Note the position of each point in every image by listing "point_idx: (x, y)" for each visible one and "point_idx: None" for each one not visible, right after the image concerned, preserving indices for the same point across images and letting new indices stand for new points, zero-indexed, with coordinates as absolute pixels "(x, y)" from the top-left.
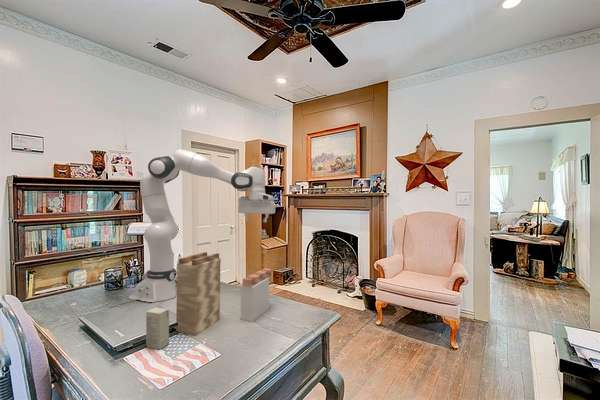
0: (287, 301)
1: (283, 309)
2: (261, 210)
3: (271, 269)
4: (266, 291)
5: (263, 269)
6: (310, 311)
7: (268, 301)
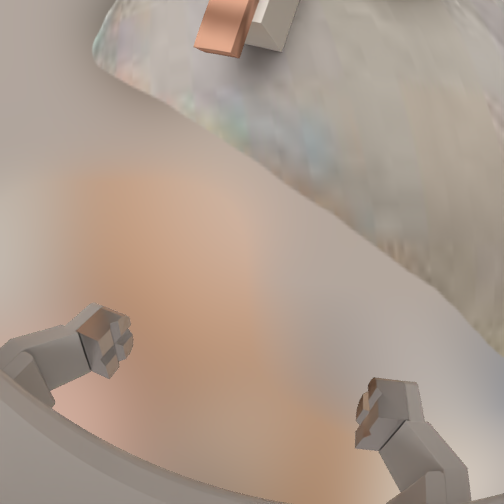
0: (196, 111)
1: None
2: (1, 450)
3: (194, 46)
4: None
5: (230, 34)
6: (135, 55)
7: None
